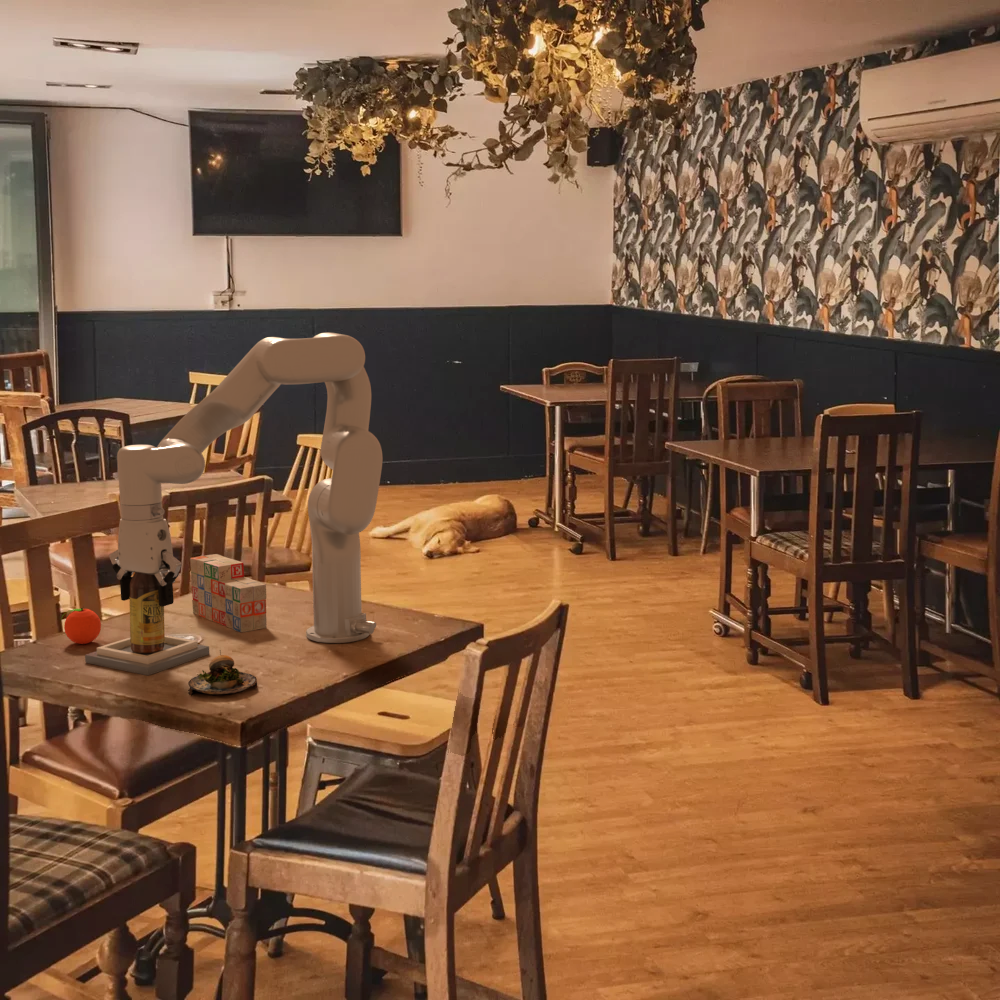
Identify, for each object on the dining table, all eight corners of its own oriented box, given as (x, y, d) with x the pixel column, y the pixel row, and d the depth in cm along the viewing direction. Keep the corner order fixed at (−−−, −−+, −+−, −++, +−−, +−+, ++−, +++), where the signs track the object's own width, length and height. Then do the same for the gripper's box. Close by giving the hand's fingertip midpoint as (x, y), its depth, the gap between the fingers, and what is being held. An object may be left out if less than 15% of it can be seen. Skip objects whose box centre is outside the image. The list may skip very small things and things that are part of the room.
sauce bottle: (147, 657, 251) (142, 551, 248) (123, 652, 255) (118, 548, 251) (173, 648, 257) (168, 545, 254) (149, 644, 260) (145, 542, 257)
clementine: (53, 647, 264) (51, 611, 262) (69, 637, 270) (67, 603, 269) (93, 648, 262) (91, 613, 261) (107, 639, 269) (106, 604, 268)
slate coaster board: (209, 654, 259) (208, 640, 258) (147, 675, 245) (147, 661, 245) (148, 642, 267) (147, 629, 266) (85, 662, 253) (84, 648, 253)
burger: (179, 700, 232) (178, 658, 231) (197, 679, 244) (196, 639, 242) (249, 701, 231) (248, 658, 230) (264, 680, 243) (263, 640, 242)
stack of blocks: (267, 628, 278) (266, 569, 276) (240, 633, 274) (238, 573, 272) (218, 608, 294) (216, 552, 292) (191, 613, 290) (189, 556, 288)
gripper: (190, 512, 250) (195, 602, 253) (123, 505, 259) (128, 592, 262) (161, 519, 244) (166, 612, 247) (93, 511, 253) (99, 601, 255)
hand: (147, 601), depth 254 cm, fingers open, 9 cm apart
